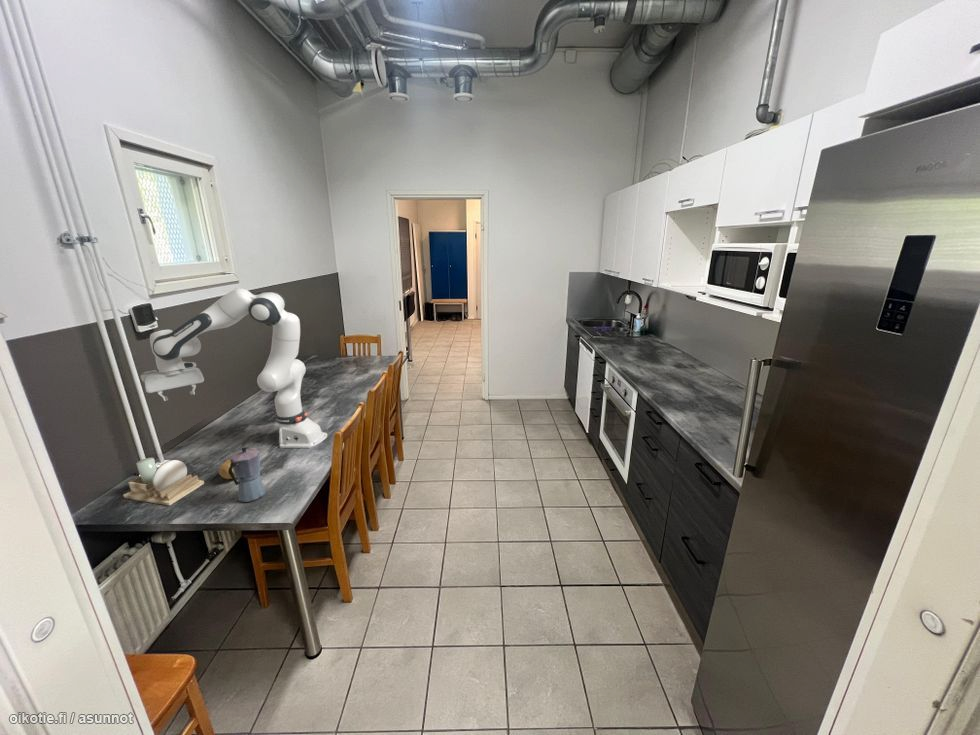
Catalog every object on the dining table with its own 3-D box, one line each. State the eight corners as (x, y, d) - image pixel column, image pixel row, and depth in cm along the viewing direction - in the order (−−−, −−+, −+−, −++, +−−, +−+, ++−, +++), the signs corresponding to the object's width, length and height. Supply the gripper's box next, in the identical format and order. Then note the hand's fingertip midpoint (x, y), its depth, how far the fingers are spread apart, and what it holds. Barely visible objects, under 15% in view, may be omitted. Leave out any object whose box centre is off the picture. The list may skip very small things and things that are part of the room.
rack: (204, 483, 153) (196, 454, 149) (169, 505, 141) (159, 474, 136) (161, 476, 158) (152, 448, 154) (124, 497, 145) (113, 467, 141)
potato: (258, 464, 166) (254, 448, 164) (240, 483, 153) (236, 466, 150) (234, 466, 166) (230, 449, 163) (215, 485, 152) (210, 468, 150)
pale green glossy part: (164, 482, 152) (157, 458, 149) (151, 490, 147) (143, 465, 144) (154, 481, 153) (147, 457, 150) (140, 488, 149) (132, 464, 145)
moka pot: (275, 483, 153) (265, 439, 146) (253, 509, 138) (242, 460, 132) (251, 484, 152) (240, 440, 146) (227, 510, 138) (214, 461, 132)
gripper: (139, 372, 156) (149, 404, 158) (199, 362, 170) (208, 391, 172) (139, 372, 161) (148, 404, 163) (198, 362, 175) (206, 391, 177)
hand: (179, 397), depth 168 cm, fingers open, 8 cm apart
